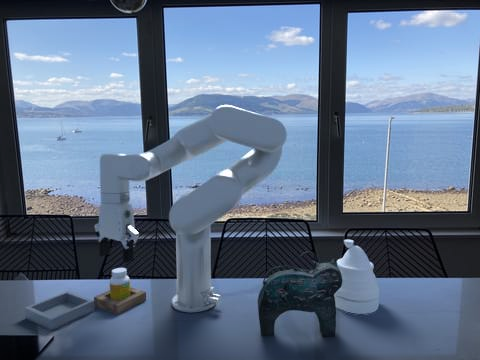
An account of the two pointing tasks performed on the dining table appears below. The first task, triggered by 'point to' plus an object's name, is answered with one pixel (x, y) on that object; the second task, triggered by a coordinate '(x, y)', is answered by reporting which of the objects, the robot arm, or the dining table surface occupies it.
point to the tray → (59, 310)
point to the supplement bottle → (119, 284)
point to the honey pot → (357, 282)
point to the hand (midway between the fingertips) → (116, 258)
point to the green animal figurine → (300, 295)
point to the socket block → (123, 305)
